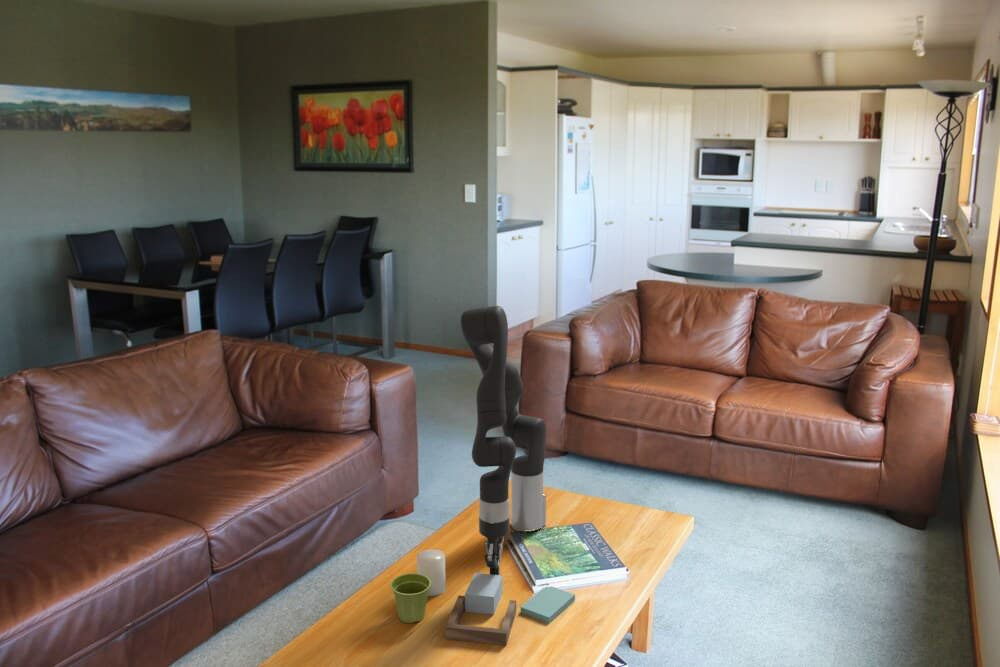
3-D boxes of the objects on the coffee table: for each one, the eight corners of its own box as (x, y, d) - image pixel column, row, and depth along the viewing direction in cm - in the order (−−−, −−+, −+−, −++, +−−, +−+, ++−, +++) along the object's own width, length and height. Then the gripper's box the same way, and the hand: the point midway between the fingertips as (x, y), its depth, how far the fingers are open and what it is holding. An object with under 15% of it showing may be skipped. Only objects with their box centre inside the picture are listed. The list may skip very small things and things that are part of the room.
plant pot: (438, 609, 199) (437, 576, 197) (421, 631, 190) (420, 597, 188) (402, 602, 202) (401, 570, 200) (385, 623, 193) (383, 590, 191)
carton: (475, 590, 208) (475, 572, 206) (502, 593, 206) (502, 575, 205) (465, 612, 198) (465, 593, 197) (494, 615, 197) (493, 597, 196)
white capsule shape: (436, 578, 213) (435, 546, 211) (451, 590, 207) (450, 557, 205) (412, 587, 209) (411, 554, 207) (426, 599, 203) (425, 566, 201)
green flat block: (547, 592, 207) (547, 584, 207) (574, 601, 203) (575, 594, 202) (520, 614, 198) (520, 606, 197) (549, 625, 193) (549, 617, 193)
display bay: (458, 606, 200) (458, 595, 199) (516, 612, 198) (516, 600, 197) (445, 639, 187) (445, 627, 186) (506, 645, 185) (506, 633, 184)
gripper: (484, 501, 211) (485, 563, 215) (473, 525, 198) (474, 590, 202) (513, 503, 209) (513, 566, 213) (504, 528, 197) (504, 593, 201)
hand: (494, 577), depth 208 cm, fingers closed
